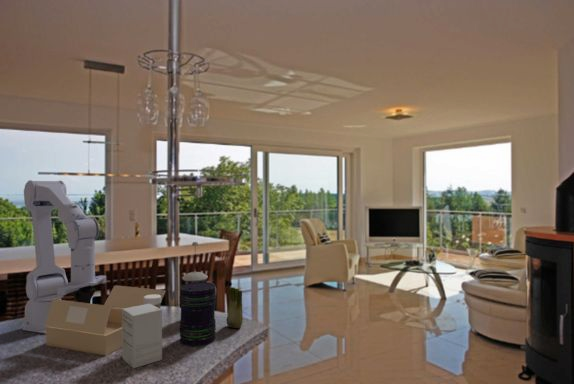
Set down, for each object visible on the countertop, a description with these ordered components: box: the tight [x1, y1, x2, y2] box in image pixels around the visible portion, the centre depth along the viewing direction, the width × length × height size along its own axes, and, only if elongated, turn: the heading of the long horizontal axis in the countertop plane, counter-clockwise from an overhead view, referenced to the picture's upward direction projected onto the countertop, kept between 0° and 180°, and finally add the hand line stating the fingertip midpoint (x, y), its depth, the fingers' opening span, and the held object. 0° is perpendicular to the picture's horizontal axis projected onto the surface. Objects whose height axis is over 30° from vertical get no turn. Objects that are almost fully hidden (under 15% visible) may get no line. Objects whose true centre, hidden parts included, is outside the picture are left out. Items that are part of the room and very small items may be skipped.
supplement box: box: [121, 304, 163, 369], centre depth 101 cm, size 7×7×13 cm
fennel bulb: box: [226, 286, 244, 329], centre depth 125 cm, size 6×5×12 cm
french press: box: [178, 241, 217, 323], centre depth 132 cm, size 10×12×25 cm
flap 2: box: [103, 284, 166, 309], centre depth 128 cm, size 19×7×1 cm
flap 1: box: [45, 299, 111, 335], centre depth 107 cm, size 19×7×1 cm
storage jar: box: [178, 281, 217, 348], centre depth 115 cm, size 10×10×15 cm
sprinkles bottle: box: [143, 294, 162, 309], centre depth 110 cm, size 5×5×14 cm
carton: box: [45, 307, 123, 356], centre depth 116 cm, size 20×20×5 cm
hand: (83, 315), depth 109 cm, fingers closed, pressing on flap 1
